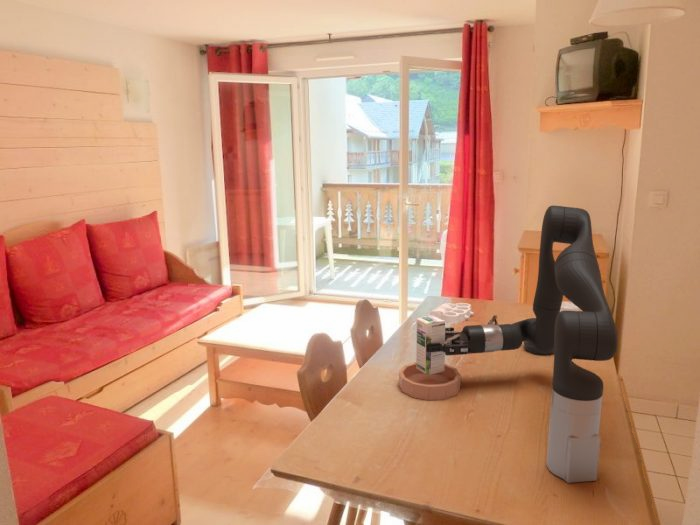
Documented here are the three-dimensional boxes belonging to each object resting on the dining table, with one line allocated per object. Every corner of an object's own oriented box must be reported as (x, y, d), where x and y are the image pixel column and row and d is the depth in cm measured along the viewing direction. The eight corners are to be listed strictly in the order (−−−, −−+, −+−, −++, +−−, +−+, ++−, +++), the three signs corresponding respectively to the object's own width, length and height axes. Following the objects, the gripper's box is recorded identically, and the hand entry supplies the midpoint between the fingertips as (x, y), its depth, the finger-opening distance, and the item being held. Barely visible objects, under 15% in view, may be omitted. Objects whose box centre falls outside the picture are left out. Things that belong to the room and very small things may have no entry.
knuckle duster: (444, 307, 219) (479, 313, 212) (425, 320, 204) (463, 326, 197) (444, 299, 219) (480, 305, 211) (426, 311, 204) (463, 318, 196)
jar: (534, 357, 167) (536, 334, 166) (516, 346, 177) (518, 323, 175) (563, 354, 170) (564, 330, 168) (543, 342, 179) (545, 320, 178)
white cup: (552, 334, 187) (554, 306, 185) (555, 327, 194) (557, 300, 191) (577, 337, 183) (579, 309, 181) (579, 330, 190) (581, 303, 188)
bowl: (467, 397, 142) (467, 384, 141) (406, 401, 140) (406, 388, 139) (449, 372, 157) (450, 360, 156) (395, 375, 156) (395, 363, 155)
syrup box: (415, 368, 149) (415, 318, 146) (432, 363, 152) (433, 314, 148) (427, 376, 144) (427, 324, 141) (445, 371, 147) (446, 320, 144)
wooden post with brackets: (500, 323, 196) (498, 314, 194) (488, 337, 191) (486, 327, 189) (496, 322, 197) (493, 313, 195) (484, 336, 193) (481, 326, 191)
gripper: (474, 317, 154) (416, 320, 152) (492, 335, 140) (429, 339, 138) (473, 342, 155) (416, 345, 154) (491, 362, 141) (429, 366, 140)
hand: (422, 342), depth 146 cm, fingers closed on syrup box, 7 cm apart
